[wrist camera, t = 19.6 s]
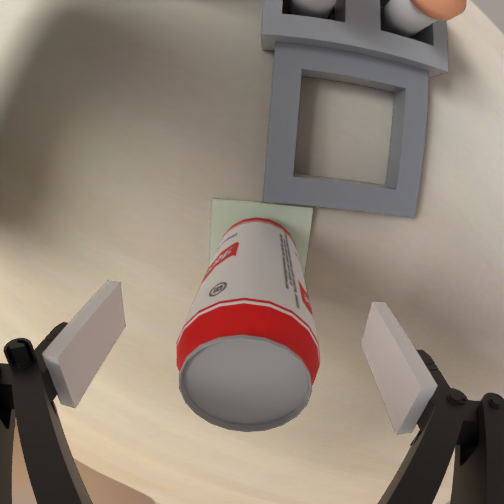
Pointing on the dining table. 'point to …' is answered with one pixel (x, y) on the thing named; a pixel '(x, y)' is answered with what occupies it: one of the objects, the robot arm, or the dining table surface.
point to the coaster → (286, 215)
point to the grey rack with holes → (355, 72)
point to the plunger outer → (417, 14)
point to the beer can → (250, 333)
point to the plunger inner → (312, 8)
